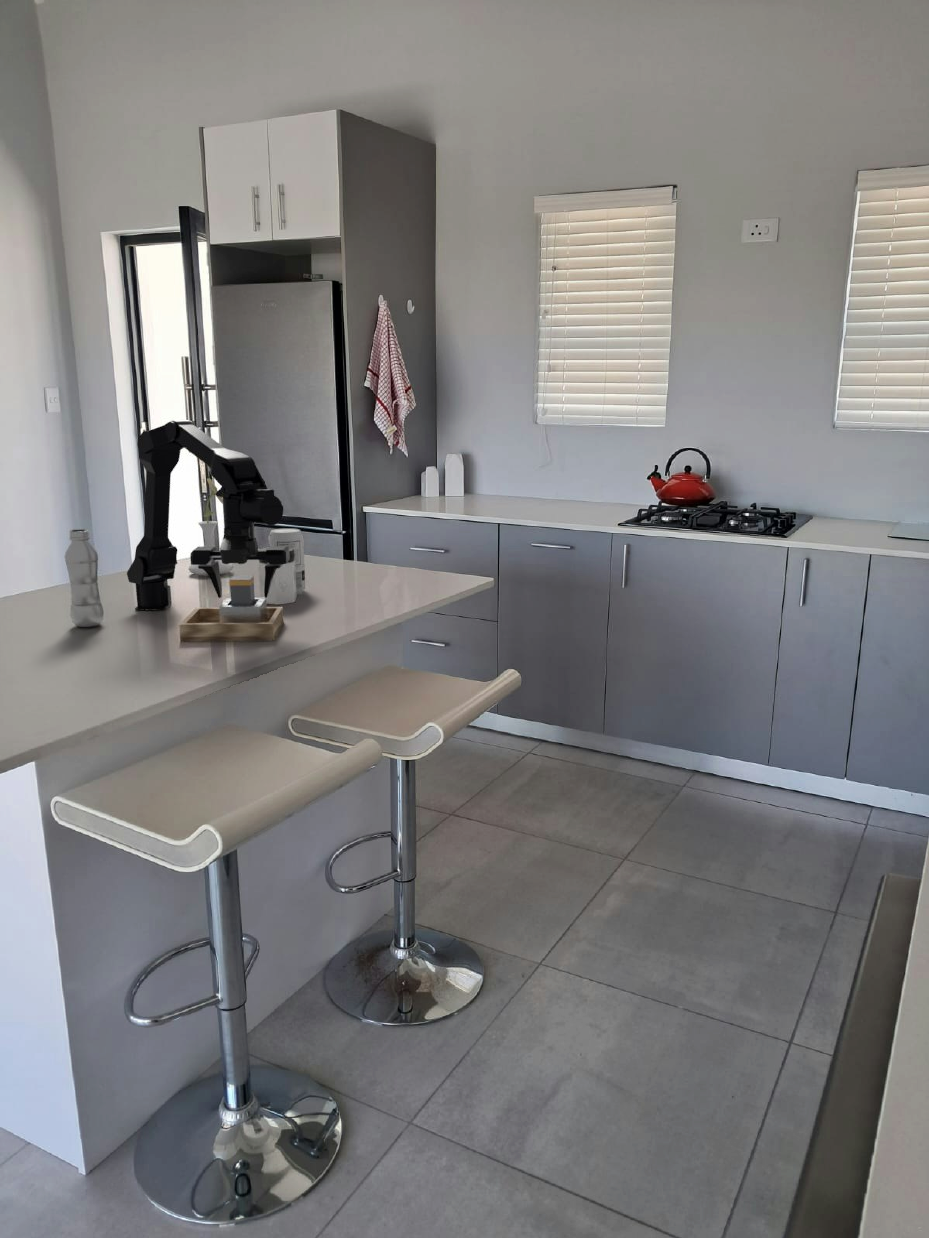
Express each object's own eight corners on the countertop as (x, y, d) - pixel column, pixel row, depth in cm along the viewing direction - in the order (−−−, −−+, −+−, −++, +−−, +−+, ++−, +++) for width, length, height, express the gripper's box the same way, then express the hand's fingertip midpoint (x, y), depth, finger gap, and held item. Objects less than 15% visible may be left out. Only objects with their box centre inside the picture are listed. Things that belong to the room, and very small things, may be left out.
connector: (231, 619, 186) (229, 580, 184) (235, 614, 190) (233, 575, 188) (252, 618, 186) (250, 579, 184) (255, 613, 190) (253, 575, 188)
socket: (221, 636, 185) (219, 606, 183) (228, 626, 192) (227, 597, 191) (261, 635, 185) (259, 606, 184) (267, 625, 193) (266, 597, 191)
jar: (267, 606, 209) (264, 554, 206) (253, 599, 216) (251, 548, 213) (303, 601, 214) (301, 550, 211) (289, 595, 221) (287, 545, 218)
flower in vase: (227, 578, 239) (221, 481, 232) (183, 578, 239) (176, 481, 232) (239, 569, 251) (234, 476, 245) (198, 568, 251) (191, 476, 245)
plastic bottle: (73, 631, 188) (63, 533, 183) (70, 624, 193) (60, 529, 188) (107, 628, 191) (97, 531, 186) (102, 620, 196) (93, 527, 191)
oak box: (180, 641, 180) (179, 624, 180) (196, 623, 194) (195, 607, 193) (273, 641, 181) (272, 623, 181) (283, 623, 195) (282, 606, 194)
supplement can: (264, 594, 222) (261, 532, 218) (283, 587, 229) (280, 527, 225) (293, 597, 219) (290, 534, 215) (311, 590, 226) (309, 529, 222)
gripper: (180, 527, 175) (186, 607, 179) (280, 526, 176) (284, 606, 180) (194, 518, 186) (199, 594, 190) (288, 518, 187) (291, 593, 190)
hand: (243, 597), depth 187 cm, fingers open, 9 cm apart
